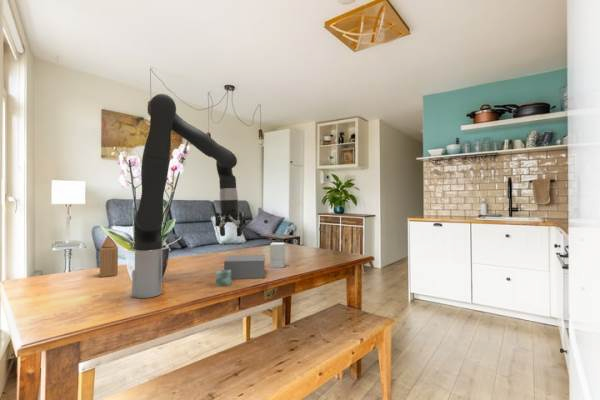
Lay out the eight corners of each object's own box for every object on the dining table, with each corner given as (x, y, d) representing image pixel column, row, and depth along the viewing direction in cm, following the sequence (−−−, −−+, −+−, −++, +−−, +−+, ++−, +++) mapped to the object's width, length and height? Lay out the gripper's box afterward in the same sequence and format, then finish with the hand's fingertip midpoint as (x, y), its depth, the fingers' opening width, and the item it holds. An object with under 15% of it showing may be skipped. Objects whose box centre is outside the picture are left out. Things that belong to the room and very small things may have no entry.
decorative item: (99, 277, 136) (99, 234, 136) (101, 274, 142) (101, 232, 142) (116, 276, 139) (116, 233, 139) (117, 272, 145) (118, 231, 145)
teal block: (216, 286, 124) (216, 272, 124) (218, 282, 129) (218, 269, 129) (229, 285, 124) (229, 272, 124) (231, 282, 130) (231, 269, 130)
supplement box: (285, 265, 164) (285, 242, 164) (283, 268, 157) (283, 244, 157) (272, 264, 165) (272, 242, 165) (269, 267, 158) (269, 243, 158)
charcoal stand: (224, 279, 134) (224, 261, 134) (228, 270, 150) (228, 254, 150) (264, 278, 136) (264, 260, 136) (264, 270, 152) (264, 254, 152)
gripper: (209, 200, 128) (212, 237, 129) (237, 198, 123) (239, 237, 123) (220, 199, 135) (223, 234, 136) (247, 198, 130) (249, 234, 130)
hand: (231, 236), depth 130 cm, fingers open, 8 cm apart
